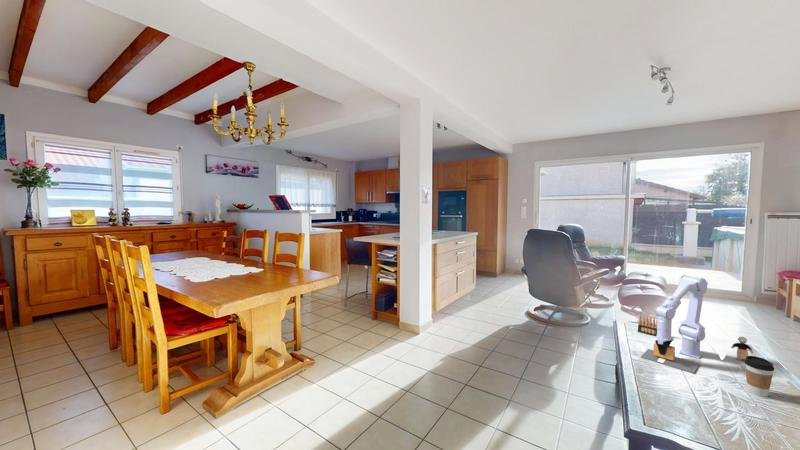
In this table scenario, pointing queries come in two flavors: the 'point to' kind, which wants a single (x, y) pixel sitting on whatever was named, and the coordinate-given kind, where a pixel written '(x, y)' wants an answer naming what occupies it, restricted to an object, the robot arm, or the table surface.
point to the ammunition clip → (647, 326)
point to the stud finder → (669, 352)
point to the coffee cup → (758, 375)
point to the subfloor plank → (672, 362)
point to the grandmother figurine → (742, 348)
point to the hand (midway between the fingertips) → (663, 353)
